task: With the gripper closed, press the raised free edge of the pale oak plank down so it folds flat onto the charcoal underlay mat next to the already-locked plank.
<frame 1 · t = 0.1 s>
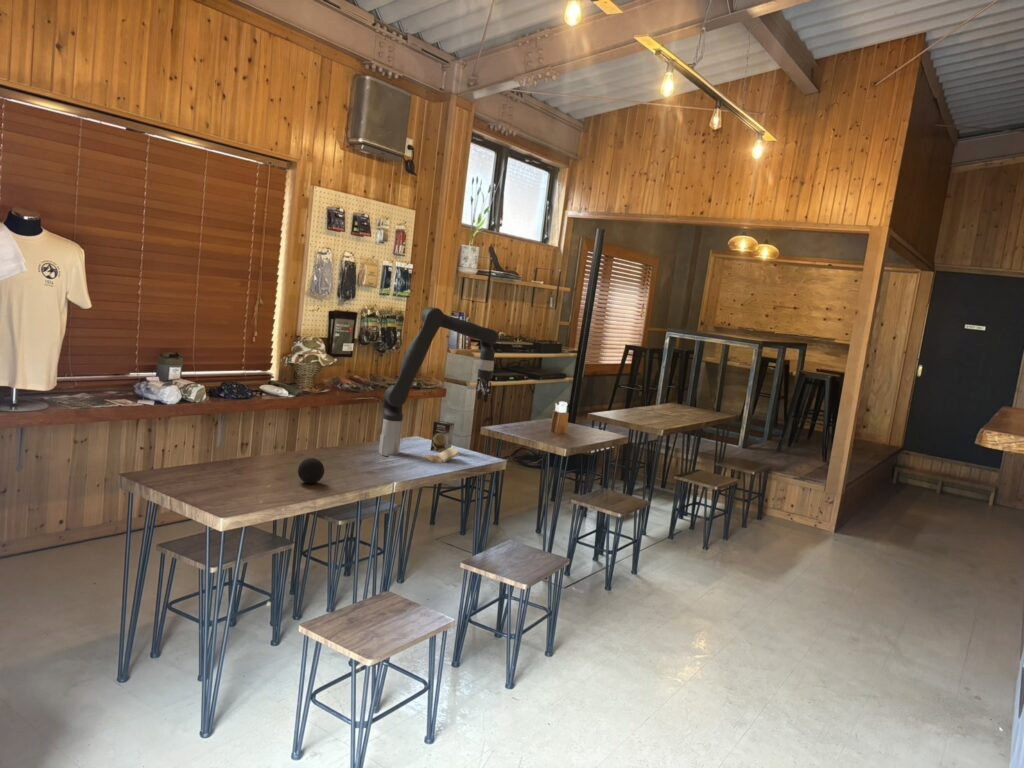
hand: (481, 400, 367), 29 cm above the table, fingers open, 8 cm apart
locked plank: (433, 460, 347), resting on underlay mat
speaker: (309, 483, 285), on the table
coffee box: (440, 453, 369), on the table
underlay mat: (444, 462, 350), on the table
loose plank: (448, 454, 350), point 4 cm above the table, hinge at 30.0°
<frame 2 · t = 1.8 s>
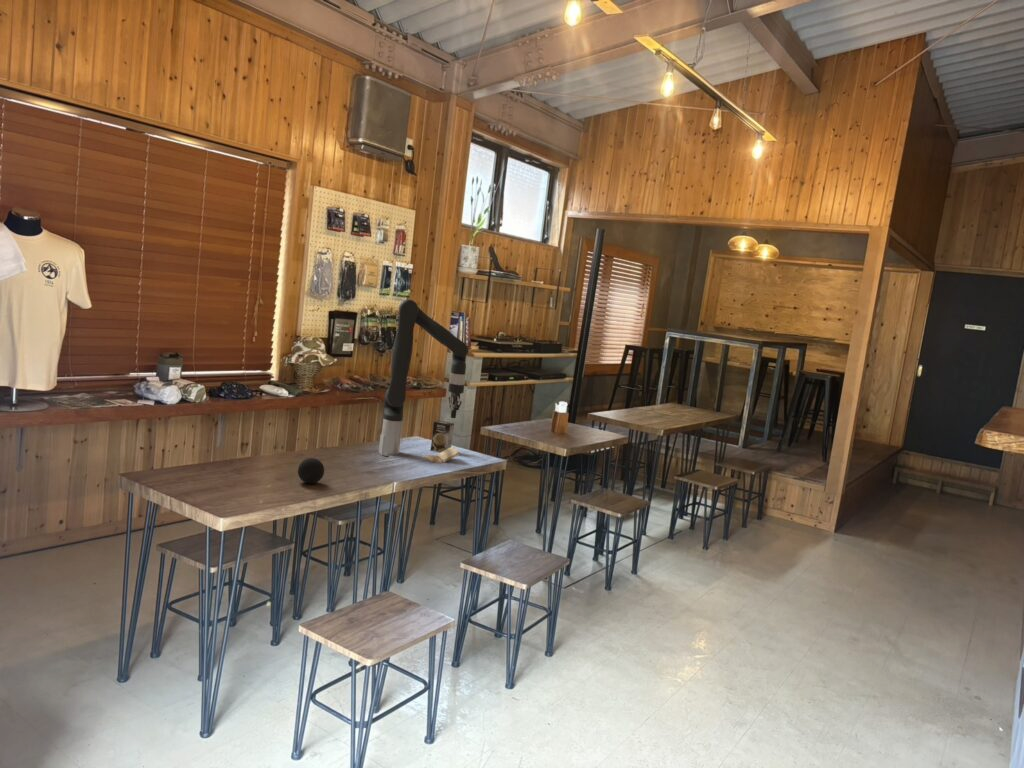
hand: (453, 417, 355), 21 cm above the table, fingers closed
nothing on the table moved.
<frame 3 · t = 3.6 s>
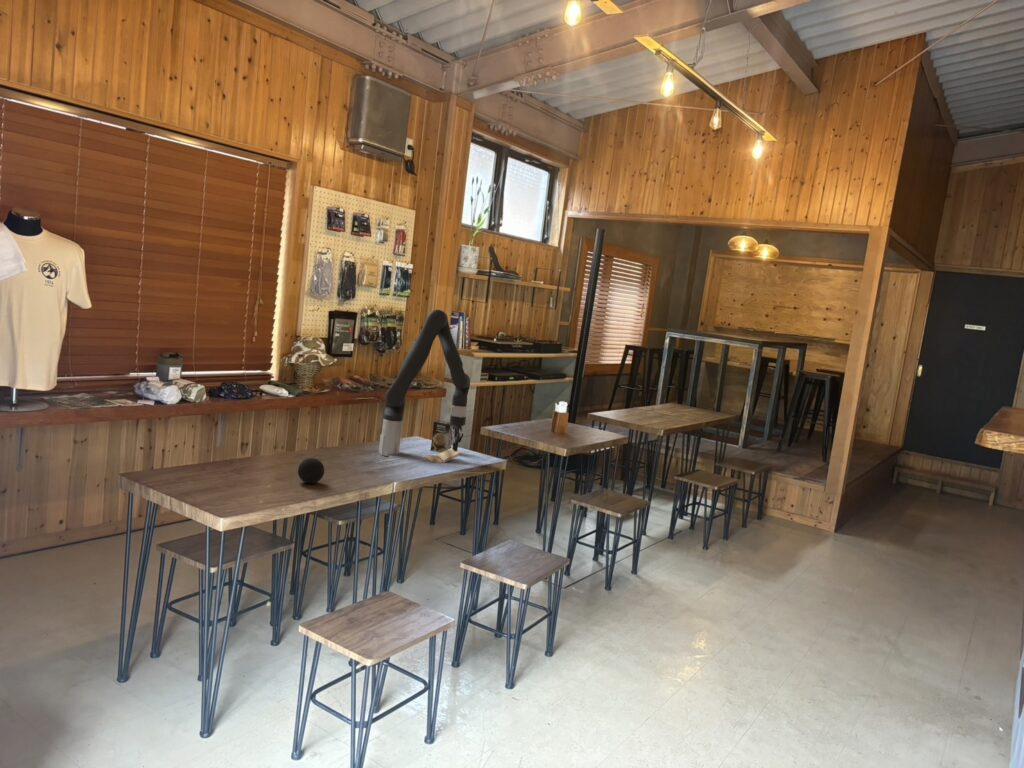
hand: (454, 450, 351), 6 cm above the table, fingers closed
loose plank: (448, 454, 350), point 4 cm above the table, hinge at 26.6°, touching gripper
everything else where it was.
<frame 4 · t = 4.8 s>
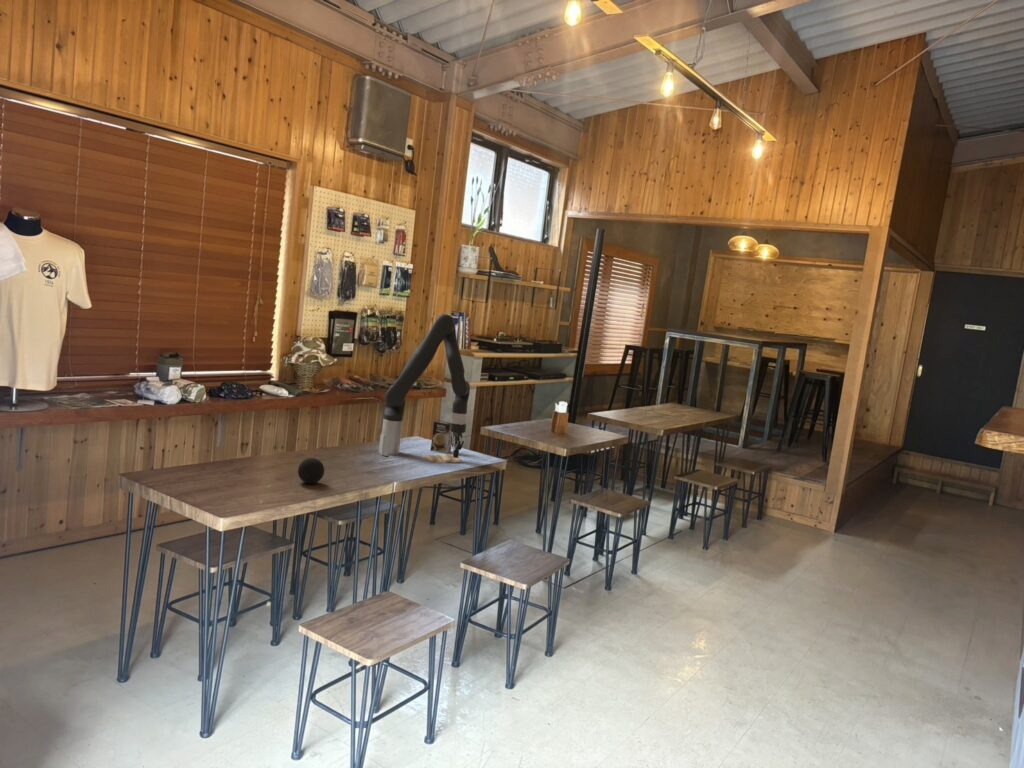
hand: (455, 457, 351), 3 cm above the table, fingers closed
loose plank: (449, 458, 350), point 2 cm above the table, hinge at 2.9°, touching gripper
everything else where it was.
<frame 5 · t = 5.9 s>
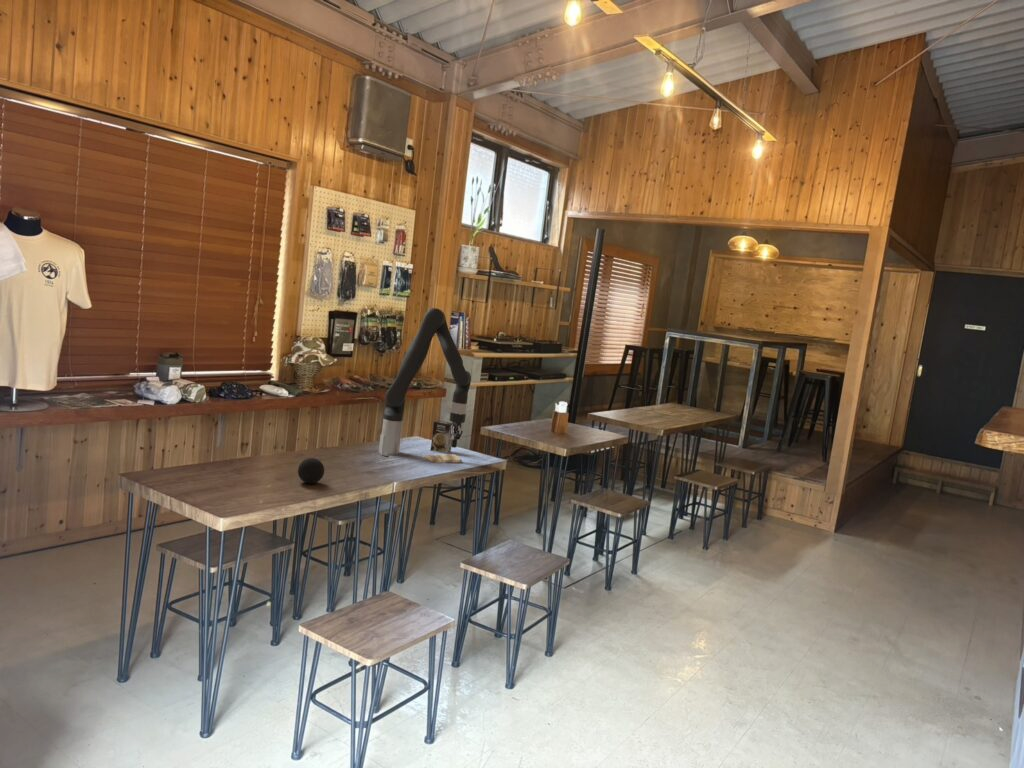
hand: (453, 447, 350), 8 cm above the table, fingers closed
loose plank: (449, 458, 350), point 2 cm above the table, hinge at 2.7°
everything else where it was.
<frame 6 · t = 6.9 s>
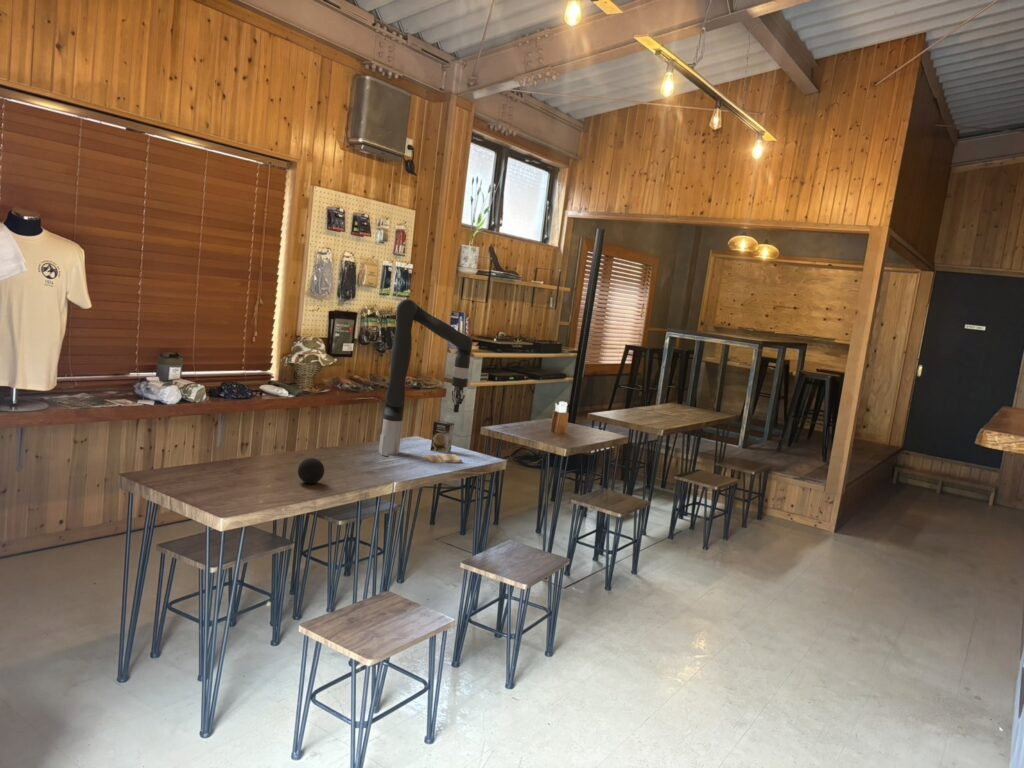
hand: (455, 412, 350), 24 cm above the table, fingers closed
nothing on the table moved.
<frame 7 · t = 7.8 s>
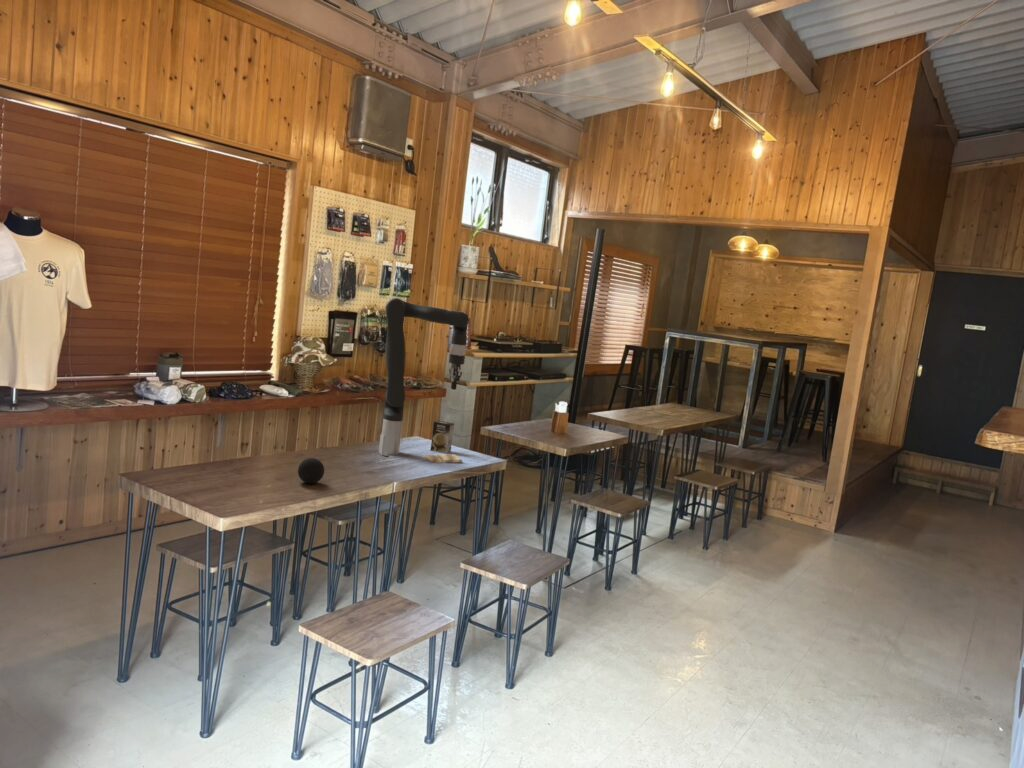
hand: (453, 389, 351), 35 cm above the table, fingers closed
nothing on the table moved.
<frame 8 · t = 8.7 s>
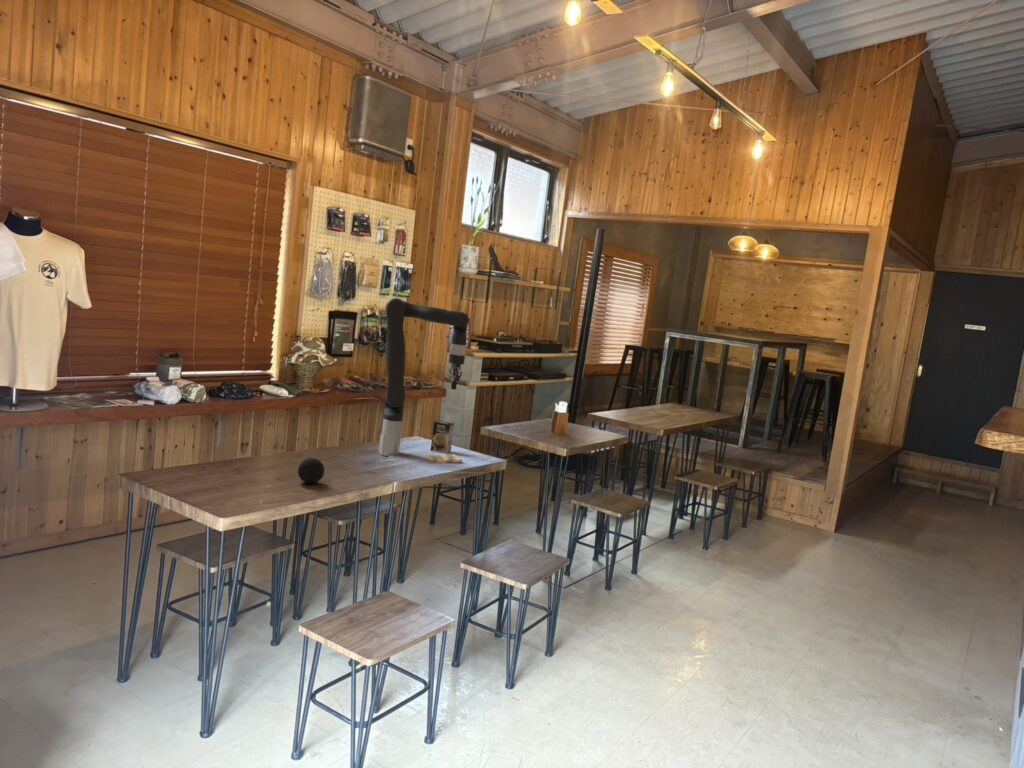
hand: (453, 389, 351), 35 cm above the table, fingers closed
nothing on the table moved.
at the end: loose plank at +3° (first picture: +30°) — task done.
